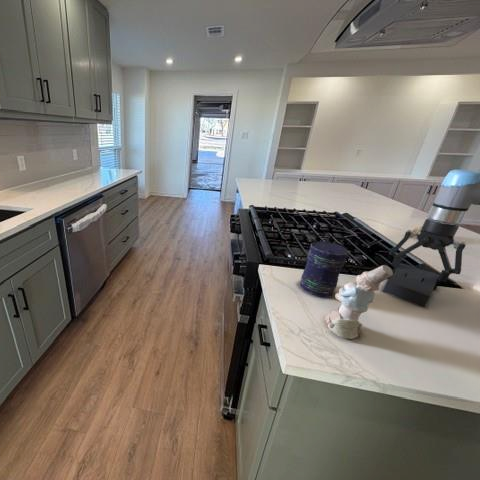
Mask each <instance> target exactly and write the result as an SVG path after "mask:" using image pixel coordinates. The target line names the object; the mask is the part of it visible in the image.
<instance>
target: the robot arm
mask: <svg viewBox="0 0 480 480" xmlns="http://www.w3.org/2000/svg"><path fill="white" fill-rule="evenodd" d="M472 205H473V206H474V205H475V206H480V169H479V170H473V169H472V170H471V169H452V170H450V171H449V172H448V173H447V174H446V176H445V177H444V179H443V181H442V183H441V184H440V187H439V190H438V191H437V194H436V197H435V199H434V201H433V203H432V205H431V207H430V209H429V211H428V213H427V216H426V217H427V218H426V219H425V220H424V222H423V224H422V226H421V227H422V228H421V230H420V231H419V232H412V231H413V230H411V229H408V230H407V231H405V233H404V236H403V238H402V239H401V240H399V242H398V243H397V244H396V245H395V246H394V247H393V249H391V250H390V251H389V252H388V254H389V256H392V257H393V260H392V262H391V266H392V267H393V269H392V271H395V270H396V269H397V268H398V266H399V265H400V264H401V263H402V261H403V257H404V256H406V255H408V254H409V253H410V252H413V251H414V250H416V249H418V248H419V247H423V248H424V249H425V248H427V249H431V250H434V251H438V254H439V257H440V260H441V262H442V263H441V264H442V266H443V269H442V270H441V272H440V273H439V277H438V279H437V282H436V284H435V287H434V289H433V291H437V288H438V287H439V284H440V282H443V283H446V282H447V280H448V279H449V277H450V275H452V274H454V275H455V274H456V275H460V274H461V273H462V264H463V250H465V248H466V246H467V243H466V242H465V241H461V242H460V241H457V240H455V239H454V237H455V236H456V233H457V232H458V229H459V228H460V224H462V222H463V220H464V218H465V217H466V215H467V212H469V209H470V207H471V206H472ZM414 236H417V238H416V239H417V240H418V241H416V242H415V243H413V244H411V245H410V246H408V247H407V248H405V249H402V250H401V251H399V252H397V251H398V250H399V249H401V247H402V246H403V245H404V244H405V243H407V241H408V240H409V239H412V238H414ZM451 245H453V249H455V259H454V268H452V265H451V262H450V260H449V256H448V253H447V249H446V247H449V246H451Z"/></svg>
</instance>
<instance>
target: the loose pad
mask: <svg viewBox="0 0 480 480" xmlns="http://www.w3.org/2000/svg"><path fill="white" fill-rule="evenodd" d="M396 270H398V271H401V272H404V273H406V275H405V277H408V278H411V279H414V280H417V281H420V282H423V280H424V279H427V280H430V281H433V282H437V279H438V277H439V275H440V273H437V272H436V273H435V272H432V271H429V270H425V269H422V268H419V267H415V266H412V265H409V264H406V263H402V262H401V263H400V265H399V266H398V268H397V269H396Z"/></svg>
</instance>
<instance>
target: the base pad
mask: <svg viewBox="0 0 480 480" xmlns="http://www.w3.org/2000/svg"><path fill="white" fill-rule="evenodd" d="M405 275H406V273H404V272H401V271H398V270H395V272H394V273H393V275H392V276H390V277H389V278H388V279H387V281H386V282H385V285H384V286H383V289H382V292H383V293H386V294H388V295H391V296H393V297H396V298H399V299H401V300H404V301H407V302H409V303H411V304H414V305H418V306H420V307H423V308H425V307H426V305H427V303H428V301H429V300H430V298H431V296H432V293H433V291H434V290H433V289H434V287H435V284H436V282H433V281H430V280H427V279H424V280H423V282H420V281H417V280H414V279H411V278H408V277H405Z"/></svg>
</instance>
